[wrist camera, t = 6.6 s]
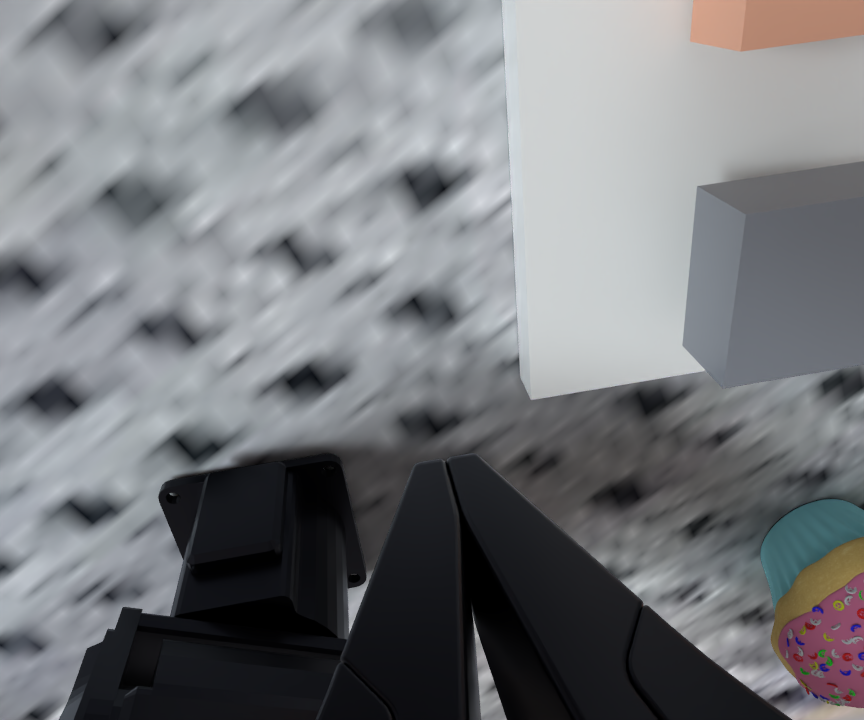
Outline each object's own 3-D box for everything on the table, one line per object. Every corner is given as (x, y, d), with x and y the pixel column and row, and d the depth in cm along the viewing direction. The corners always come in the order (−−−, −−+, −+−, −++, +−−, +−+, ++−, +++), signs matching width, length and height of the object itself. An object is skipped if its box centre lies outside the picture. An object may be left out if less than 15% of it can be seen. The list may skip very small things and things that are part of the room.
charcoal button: (836, 320, 21) (893, 359, 19) (682, 345, 21) (723, 388, 19) (871, 159, 19) (941, 184, 17) (697, 185, 18) (746, 214, 16)
